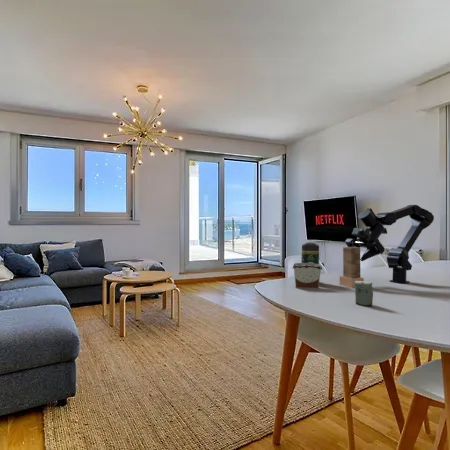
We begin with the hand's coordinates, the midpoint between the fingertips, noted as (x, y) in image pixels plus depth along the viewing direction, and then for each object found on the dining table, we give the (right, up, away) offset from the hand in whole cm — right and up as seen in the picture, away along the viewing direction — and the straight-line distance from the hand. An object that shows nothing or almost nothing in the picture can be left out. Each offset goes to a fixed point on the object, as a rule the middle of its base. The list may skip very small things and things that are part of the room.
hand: (353, 259), depth 146 cm
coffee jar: (-18, -11, +5) cm, 22 cm away
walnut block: (-1, -8, 0) cm, 8 cm away
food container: (-22, -11, -5) cm, 25 cm away
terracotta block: (-1, -12, 0) cm, 12 cm away
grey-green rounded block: (-10, -12, -35) cm, 39 cm away
